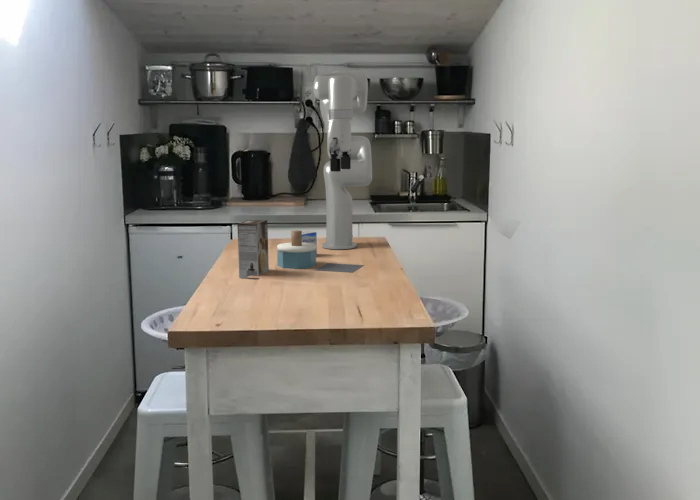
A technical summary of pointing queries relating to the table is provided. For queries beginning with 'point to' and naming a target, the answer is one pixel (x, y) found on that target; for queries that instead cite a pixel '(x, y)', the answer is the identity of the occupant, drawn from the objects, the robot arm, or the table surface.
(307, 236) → the medicine box
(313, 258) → the pot
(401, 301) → the table surface
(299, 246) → the lid
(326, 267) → the mat
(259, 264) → the coffee box
